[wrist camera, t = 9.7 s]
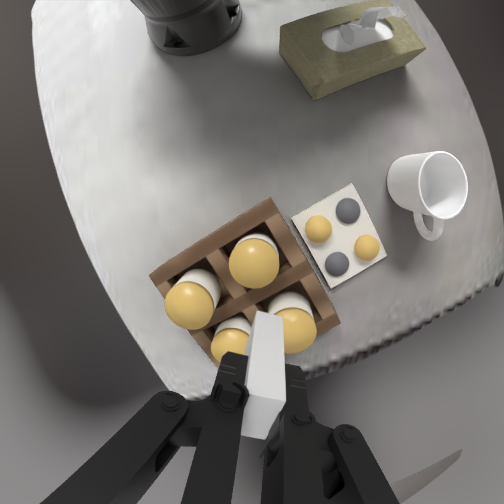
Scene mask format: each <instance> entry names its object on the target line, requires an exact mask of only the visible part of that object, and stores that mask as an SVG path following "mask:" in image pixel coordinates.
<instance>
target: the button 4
mask: <svg viewBox="0 0 504 504" xmlns="http://www.w3.org/2000/svg"><path fill="white" fill-rule="evenodd" d="M268 313H269V314H273V315H277V316H281V317H283V336H284V353H286V354H295V353H299V352H302V351H304V350H306V349H307V348H308V347H310V346H311V345H312V343H313V342H314V340H315V338H316V334H317V330H316V325H315V321H314V318H313V314H312V310H311V307H310V303H309V301H308V300H307V299H306V298H305V297H304V296H303V295H301V294H299V293H296V292H284V293H281V294H279V295H277V296H276V297H274V298H273V299H272V301H271V302H270V304H269V307H268Z"/></svg>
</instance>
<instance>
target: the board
mask: <svg viewBox="0 0 504 504" xmlns="http://www.w3.org/2000/svg"><path fill="white" fill-rule="evenodd" d="M252 231H262V232H265V233H267V234H269V235H270V236H271V237H272V238H273V239H274V240H275V242H276V244H277V246H278V254H279V271H278V274H277V276H276V277H275V279H274V280H273V281H272V282H271V283H270V284H268V285H267V286H264V287H262V288H255V289H254V288H247V287H244V286H242V285H241V284H239V283H238V282H237V281H236V280H235V279H234V278H233V277H232V275H231V273H230V269H229V258H230V255H231V253H232V251H233V249H234V248H235V246H236V244H237V242H238V241H239V239H240V238H241V237H242V236H243V235H245V234H246V233H248V232H252ZM193 269H204V270H207V271H209V272H210V273H212V274H213V275H214V276H215V277H216V278H217V279H218V281H219V283H220V286H221V296H220V299H219V301H218V303H217V306H216V308H215V310H214V312H213V315H212V317H211V319H210V321H209V322H208V324H207V325H205V326H204V327H202V328H200V329H196V330H189V329H187V330H188V331H189V333H190V334H191V335H192V336H193V338H194V339H195V340H196V342H197V343H198V344H199V345H200V347H201V348H202V349H203V350H204V352H205V353H206V354H207V355H208V356H209V358H210V359H211V360H212V361H213V363H214V364H215V365H216V366H217V367H218V369H219V366H220V362H218V361H217V360H216V359H215V358H214V356H213V354H212V352H211V343H212V341H213V338H214V335H215V333H216V330H217V327H218V324H219V322H221V321H223V320H225V319H227V318H229V317H231V316H233V315H235V314H237V313H239V312H241V313H244V314H245V315H246V317H247V318H248V320H249V321H250V323H251V324H253V321H254V318H255V314H256V311H261V312H265V313H268V307H269V304H270V302H271V301H272V299H273V298H274V297H276V296H277V295H279V294H281V293H284V292H296V293H299V294H301V295H303V296H304V297H305V298H306V299H307V300H308V301H309V303H310V307H311V310H312V314H313V318H314V321H315V325H316V330H317V334H316V336H317V335H319V334H321V333H323V332H325V331H327V330H329V329H331V328H333V327H335V326H337V325H338V324H340V323H341V322H340V320H339V318H338V315H337V313H336V311H335V309H334V307H333V305H332V303H331V301H330V300H329V298H328V296H327V294H326V292H325V290H324V289H323V287H322V285H321V283H320V281H319V280H318V278H317V276H316V274H315V272H314V271H313V269H312V267H311V265H310V263H309V262H308V260H307V258H306V256H305V255H304V253H303V251H302V249H301V248H300V246H299V244H298V243H297V241H296V239H295V237H294V236H293V234H292V232H291V231H290V229H289V227H288V226H287V224H286V222H285V220H284V219H283V217H282V215H281V214H280V212H279V210H278V209H277V207H276V205H275V204H274V202H273V201H272V199H271V197H270V198H268V199H266V200H265V201H263V202H261V203H260V204H258V205H256V206H255V207H253V208H251V209H250V210H248V211H246V212H245V213H243V214H241V215H240V216H238V217H236V218H235V219H233V220H232V221H230V222H228V223H227V224H225V225H224V226H222V227H220V228H219V229H217V230H216V231H214V232H212V233H211V234H209V235H208V236H206V237H204V238H203V239H201V240H200V241H198V242H197V243H195V244H193V245H192V246H190V247H189V248H187V249H186V250H184V251H183V252H181V253H179V254H178V255H176V256H175V257H173V258H172V259H170V260H169V261H167V262H166V263H164V264H163V265H161V266H160V267H159V268H157V269H156V270H155V271H154V272H152V273H151V274H150V275H149V277H150V278H151V280H152V281H153V283H154V284H155V286H156V287H157V289H158V290H159V292H160V293H161V294H162V296H163V297H164V299H165V298H166V295H167V293H168V292H169V291H170V290H171V289H172V287H173V286H174V285H175V284H176V283H177V282H178V281H179V280H180V279H181V277H182V276H183V275H184V274H185V273H186V272H188V271H190V270H193Z"/></svg>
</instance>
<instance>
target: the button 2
mask: <svg viewBox="0 0 504 504" xmlns="http://www.w3.org/2000/svg"><path fill="white" fill-rule="evenodd" d="M251 328H252V324H251V323H250V321H249V320H248V318H247V317H246V315H245V314H244V313H241V312H239V313H237V314H235V315H233V316H231V317H229V318H227V319H225V320H223V321H221V322H219V324H218V327H217V330H216V333H215V335H214V338H213V341H212V343H211V352H212V354H213V356H214V358H215V359H216V360H217V361H218V362H221V359H222V356H223V355H224V354H225V353H226V352H228V351H230V352H234V353H238V354H242V355H244V352H245V347H246V344H247V341H248V337H249V334H250V331H251Z"/></svg>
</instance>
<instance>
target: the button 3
mask: <svg viewBox="0 0 504 504" xmlns="http://www.w3.org/2000/svg"><path fill="white" fill-rule="evenodd" d="M229 269H230V273H231V275H232V277H233V278H234V279H235V280H236V281H237V282H238V283H239V284H241V285H242V286H244V287H247V288H254V289H255V288H262V287H264V286H267V285H268V284H270V283H271V282H272V281H273V280H274V279H275V277H276V276H277V274H278V271H279V254H278V246H277V244H276V242H275V240H274V239H273V238H272V237H271V236H270V235H269V234H267V233H265V232H262V231H252V232H248V233H246V234H245V235H243V236H242V237H241V238H240V239H239V241H238V242H237V244H236V246H235V248H234V249H233V251H232V253H231V255H230V258H229Z"/></svg>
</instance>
